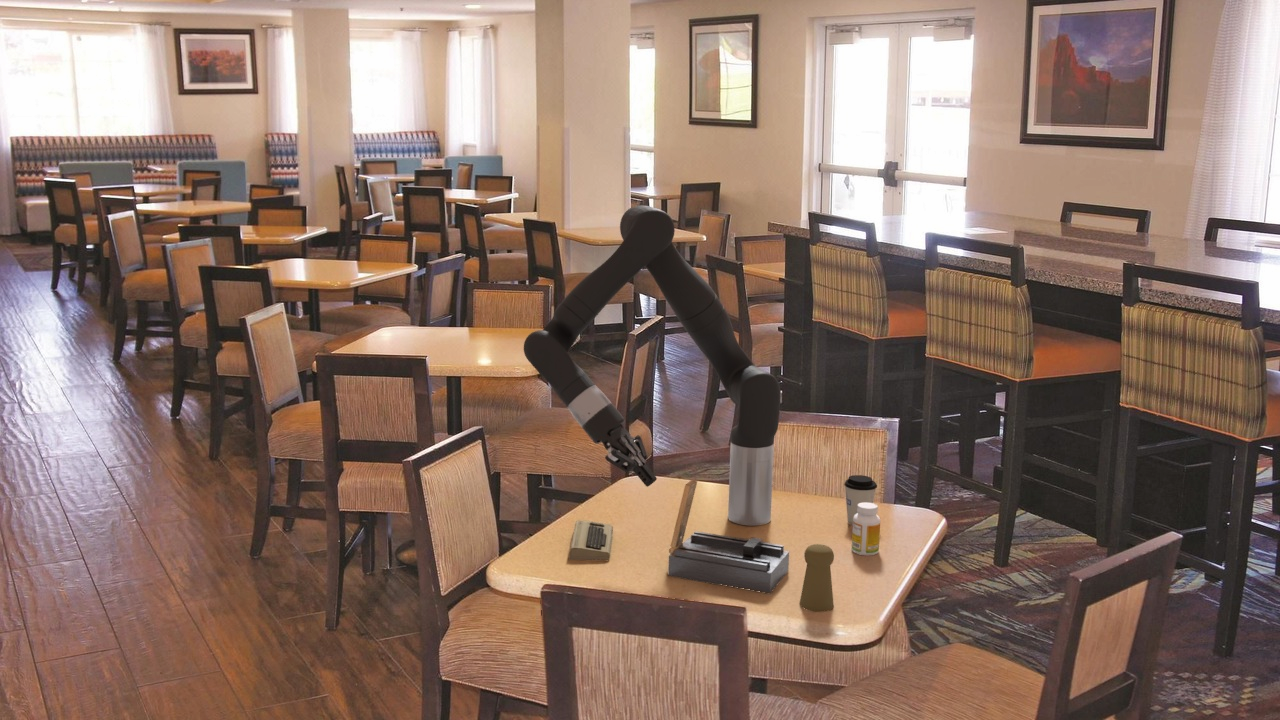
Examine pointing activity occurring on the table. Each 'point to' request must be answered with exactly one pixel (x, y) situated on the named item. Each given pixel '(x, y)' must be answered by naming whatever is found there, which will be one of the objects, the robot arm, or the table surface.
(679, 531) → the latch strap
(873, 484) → the coffee cup
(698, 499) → the table surface
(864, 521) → the supplement bottle
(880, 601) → the table surface
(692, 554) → the grey slider box
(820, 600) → the olive pawn
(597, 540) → the computer
